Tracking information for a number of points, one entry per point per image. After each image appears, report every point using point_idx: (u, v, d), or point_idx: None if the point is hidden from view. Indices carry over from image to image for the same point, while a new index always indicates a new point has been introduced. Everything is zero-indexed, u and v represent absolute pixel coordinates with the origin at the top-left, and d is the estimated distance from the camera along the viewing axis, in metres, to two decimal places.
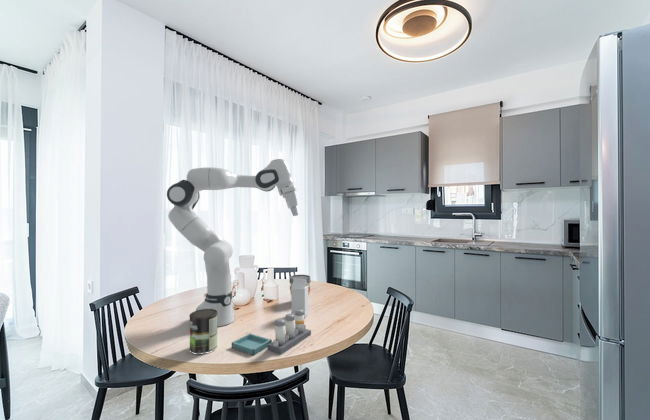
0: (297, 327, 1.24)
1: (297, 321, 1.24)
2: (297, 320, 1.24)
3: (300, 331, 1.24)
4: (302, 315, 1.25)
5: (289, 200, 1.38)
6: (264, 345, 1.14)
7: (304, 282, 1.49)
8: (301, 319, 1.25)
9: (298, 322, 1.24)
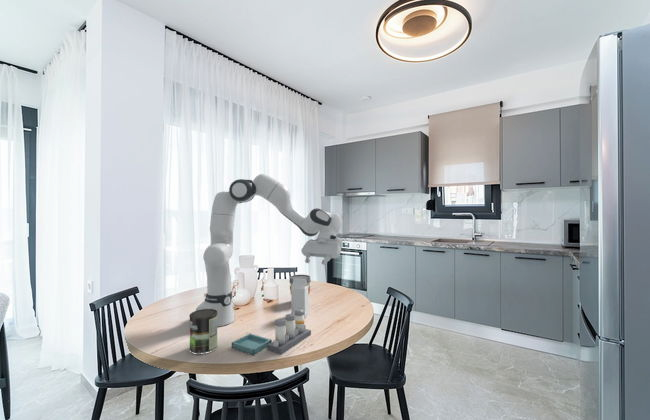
0: (297, 327, 1.24)
1: (297, 321, 1.24)
2: (297, 320, 1.24)
3: (300, 331, 1.24)
4: (302, 315, 1.25)
5: (338, 249, 1.36)
6: (264, 345, 1.14)
7: (304, 282, 1.49)
8: (302, 319, 1.25)
9: (298, 322, 1.24)
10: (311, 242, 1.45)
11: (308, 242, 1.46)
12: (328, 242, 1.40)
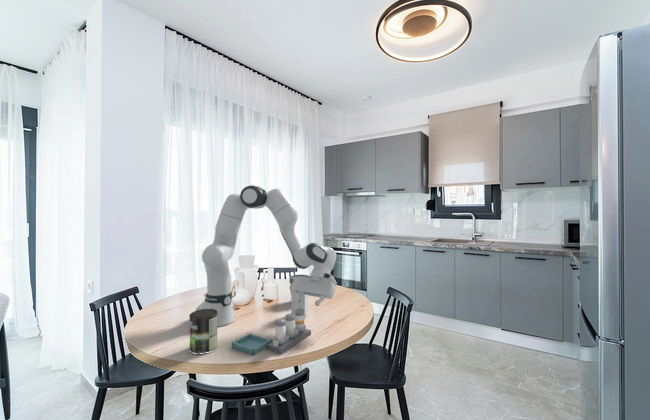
0: (297, 327, 1.24)
1: (297, 321, 1.24)
2: (297, 320, 1.24)
3: (300, 331, 1.24)
4: (302, 315, 1.25)
5: (331, 289, 1.31)
6: (264, 345, 1.14)
7: None
8: (302, 319, 1.25)
9: (298, 322, 1.24)
10: (304, 279, 1.40)
11: (301, 279, 1.41)
12: (322, 281, 1.35)
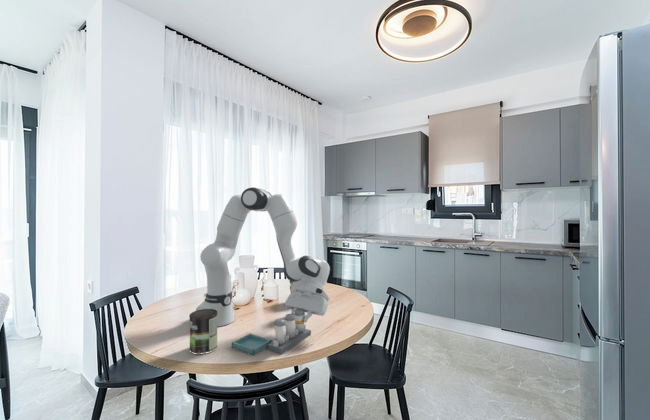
0: (297, 327, 1.24)
1: (297, 321, 1.24)
2: (297, 320, 1.24)
3: (300, 331, 1.24)
4: (302, 315, 1.25)
5: (323, 305, 1.24)
6: (264, 345, 1.14)
7: (304, 282, 1.49)
8: (301, 319, 1.25)
9: (298, 322, 1.24)
10: (296, 294, 1.34)
11: (293, 293, 1.35)
12: (314, 296, 1.29)
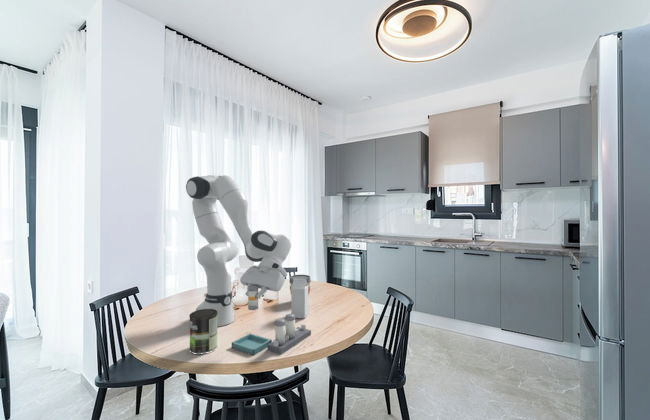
0: (250, 303, 1.16)
1: (250, 297, 1.16)
2: (250, 296, 1.16)
3: (253, 308, 1.15)
4: (255, 291, 1.16)
5: (279, 280, 1.16)
6: (264, 345, 1.14)
7: (304, 282, 1.49)
8: None
9: (251, 298, 1.15)
10: (252, 270, 1.25)
11: (249, 269, 1.26)
12: (270, 271, 1.20)
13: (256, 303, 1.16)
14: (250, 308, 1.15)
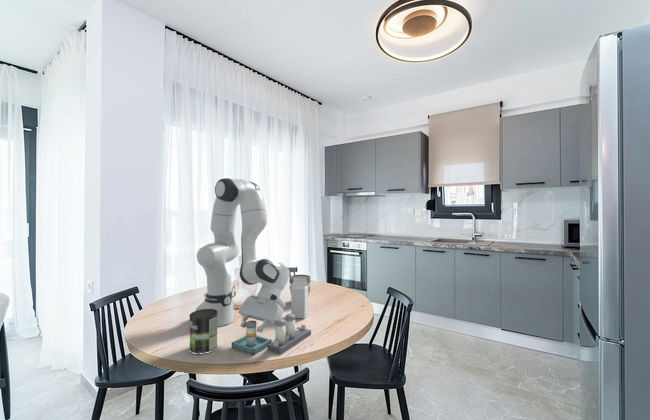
0: (248, 340, 1.15)
1: (248, 334, 1.15)
2: (248, 333, 1.15)
3: (251, 345, 1.15)
4: (253, 327, 1.15)
5: (277, 313, 1.15)
6: (264, 345, 1.14)
7: (304, 282, 1.49)
8: (253, 332, 1.15)
9: (249, 335, 1.15)
10: (251, 300, 1.25)
11: (247, 300, 1.26)
12: (268, 303, 1.19)
13: (254, 340, 1.16)
14: (248, 345, 1.15)
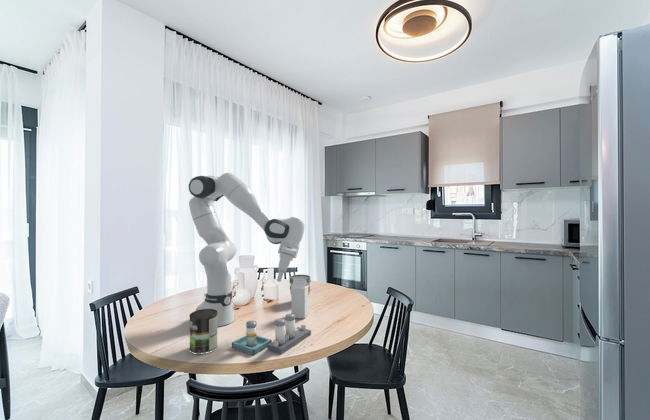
0: (248, 340, 1.15)
1: (248, 334, 1.15)
2: (248, 333, 1.15)
3: (251, 345, 1.15)
4: (253, 327, 1.15)
5: (281, 261, 1.23)
6: (264, 345, 1.14)
7: (304, 282, 1.49)
8: (253, 332, 1.15)
9: (249, 335, 1.15)
10: None
11: None
12: None
13: (254, 340, 1.16)
14: (248, 345, 1.15)
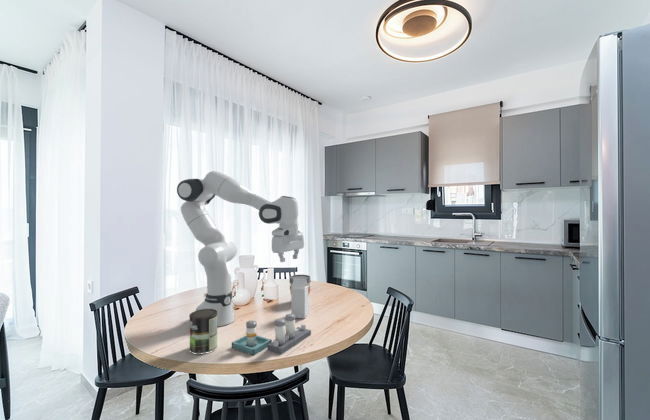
0: (248, 340, 1.15)
1: (248, 334, 1.15)
2: (248, 333, 1.15)
3: (251, 345, 1.15)
4: (253, 327, 1.15)
5: (272, 245, 1.28)
6: (264, 345, 1.14)
7: (304, 282, 1.49)
8: (253, 332, 1.15)
9: (249, 335, 1.15)
10: None
11: None
12: None
13: (254, 340, 1.16)
14: (248, 345, 1.15)
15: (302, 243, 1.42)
